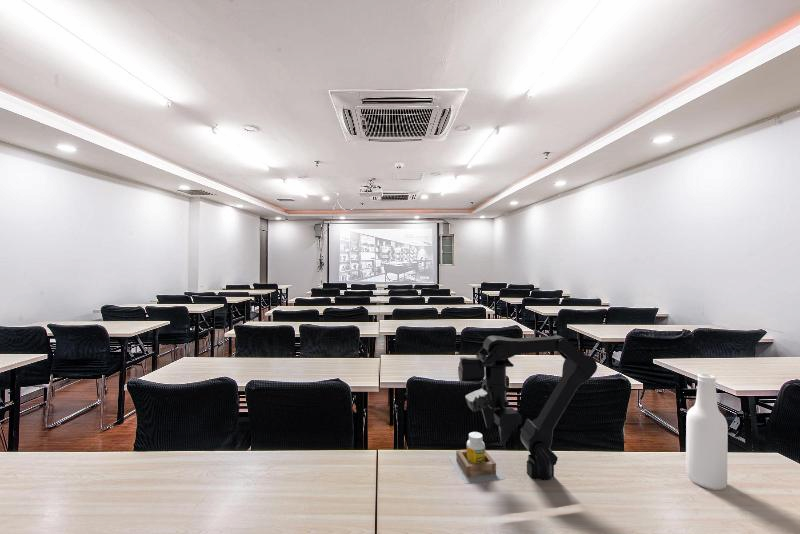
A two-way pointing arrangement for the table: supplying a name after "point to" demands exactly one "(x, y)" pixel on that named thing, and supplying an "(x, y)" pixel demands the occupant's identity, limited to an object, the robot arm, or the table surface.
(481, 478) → the board
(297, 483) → the table surface
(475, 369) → the robot arm
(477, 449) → the supplement bottle
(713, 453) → the alcohol
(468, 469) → the collar
